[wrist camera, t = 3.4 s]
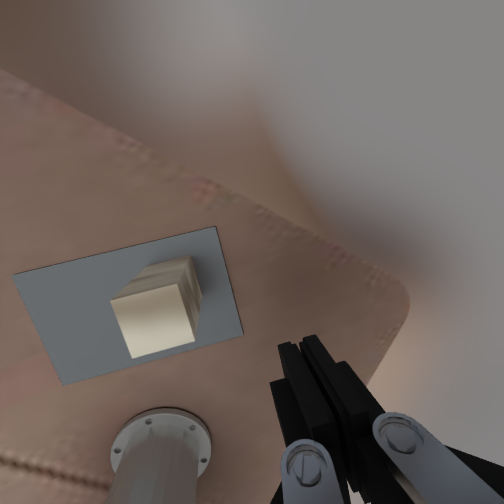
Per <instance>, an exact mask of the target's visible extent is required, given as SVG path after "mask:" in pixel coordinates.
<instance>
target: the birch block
mask: <svg viewBox="0 0 504 504" xmlns="http://www.w3.org/2000/svg"><path fill="white" fill-rule="evenodd" d="M201 300H202V292H201V289H200V285H199V282H198V279H197V275H196V272H195V268H194V265H193V261H192V258H191V255H189V256H185V257H181V258H177V259H173V260H169V261H165V262H161V263H157V264H153V265H149V266H146V267H145V268H144V269H143V270H142V271H141V272H140V273H139V274H138V275H137V276H136V277H135V278H133V279H132V280H131V281H130V282H129V283H128V284H127V285H126V286H125V287H124V288H123V289H122V290H121V291H120V292H119V293H118V294H116V295H115V296H114V297H113V298H112V299H111V300H110V302H111V305H112V308H113V310H114V313H115V315H116V318H117V321H118V323H119V326H120V328H121V331H122V334H123V336H124V339H125V341H126V344H127V347H128V349H129V352H130V354H131V357H132V358H136V357H140V356H143V355H147V354H151V353H154V352H158V351H161V350H165V349H169V348H172V347H176V346H179V345H183V344H187V343H190V342H194V341H195V339H196V332H197V326H198V319H199V313H200V307H201Z"/></svg>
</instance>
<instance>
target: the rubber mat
mask: <svg viewBox="0 0 504 504" xmlns="http://www.w3.org/2000/svg"><path fill="white" fill-rule="evenodd" d="M189 255H191V258H192V261H193V265H194V268H195V272H196V275H197V279H198V282H199V285H200V289H201V292H202V300H201V307H200V313H199V319H198V326H197V332H196V339H195V341H194V342H190V343H187V344H183V345H179V346H176V347H172V348H169V349H165V350H161V351H158V352H154V353H151V354H147V355H143V356H140V357H136V358H132V357H131V354H130V352H129V349H128V347H127V344H126V341H125V339H124V336H123V334H122V331H121V328H120V326H119V323H118V321H117V318H116V315H115V313H114V310H113V308H112V305H111V302H110V300H111V299H112V298H113V297H114V296H115V295H116V294H118V293H119V292H120V291H121V290H122V289H123V288H124V287H125V286H126V285H127V284H128V283H129V282H130V281H131V280H132V279H133V278H135V277H136V276H137V275H138V274H139V273H140V272H141V271H142V270H143V269H144V268H145V267H146V266H149V265H153V264H157V263H161V262H165V261H169V260H173V259H177V258H181V257H185V256H189ZM11 276H12V278H13V281H14V283H15V285H16V287H17V289H18V291H19V293H20V296H21V298H22V300H23V302H24V304H25V306H26V308H27V310H28V313H29V315H30V317H31V319H32V321H33V323H34V325H35V327H36V330H37V332H38V334H39V336H40V338H41V340H42V342H43V344H44V347H45V349H46V351H47V353H48V355H49V357H50V359H51V361H52V364H53V366H54V368H55V370H56V372H57V374H58V376H59V379H60V381H61V383H62V385H67V384H71V383H74V382H78V381H81V380H85V379H89V378H92V377H96V376H99V375H103V374H106V373H110V372H114V371H117V370H121V369H124V368H128V367H131V366H135V365H139V364H142V363H146V362H149V361H153V360H157V359H160V358H164V357H167V356H171V355H174V354H178V353H182V352H185V351H189V350H192V349H196V348H200V347H203V346H207V345H210V344H214V343H217V342H221V341H225V340H228V339H232V338H235V337H239V336H243V331H242V327H241V323H240V319H239V316H238V312H237V308H236V304H235V300H234V296H233V292H232V289H231V285H230V281H229V277H228V273H227V269H226V266H225V262H224V258H223V254H222V250H221V246H220V242H219V239H218V235H217V231H216V227H215V226H214V227H210V228H206V229H202V230H197V231H193V232H189V233H185V234H181V235H177V236H173V237H168V238H164V239H160V240H156V241H152V242H148V243H143V244H139V245H135V246H131V247H127V248H123V249H118V250H114V251H110V252H106V253H102V254H98V255H93V256H89V257H85V258H81V259H77V260H73V261H68V262H64V263H60V264H56V265H52V266H48V267H43V268H39V269H35V270H31V271H27V272H23V273H18V274H14V275H11Z"/></svg>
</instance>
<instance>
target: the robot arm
mask: <svg viewBox="0 0 504 504" xmlns="http://www.w3.org/2000/svg"><path fill="white" fill-rule="evenodd" d="M299 346H300V350H299V349H298V347H297V345H296V344H291V342H290V341H289V342H286V343H282V344H279V345H278V350H279V354H280V359H281V363H282V368H283V372H284V376H285V378H283V379H280V380H276V381H273V382H270V387H271V391H272V395H273V399H274V403H275V407H276V411H277V415H278V419H279V422H280V426H281V430H282V434H283V437H284V441H285V445H286V448H287V449H286V450H285V451H284V453H283V456H282V459H281V477H282V481H281V483H280V485H279V487H278V489H277V491H276V493H275V495H274V497H273V499H272V501H271V503H270V504H351V501H350V495H349V490H348V484H347V481H348V483H349V485H350V487H351V489H352V491H353V492H354V493H355V492H358V491H359V493H360V495H361V497H362V499H363V501H364V503H365V504H367V503H370V502H371V504H504V467H503V466H500V465H497V464H495V463H492V462H489V461H486V460H484V459H481V458H478V457H476V456H473V455H470V454H467V453H465V452H462V451H459V450H456V449H454V448H451V447H448V446H445V445H443V444H442V443H441V442H440V441H439V440H438V439H437V438H435V437H434V436H433V435H432V434H431V433H430V432H429V431H428V430H426V428H424V427H423V426H422V425H421V424H420V423H419V422H417V421H416V420H415V419H413V418H411V417H409V416H407V415H405V414H401V413H396V412H387V413H386V412H385V411H384V410H383V408H382V407H381V406H380V405H379V403H378V402H377V401H376V399H375V398H374V397H373V396H372V394H371V393H370V392H369V390H368V389H367V388H366V386H365V385H364V384H363V383H362V381H361V380H360V379H359V377H358V376H357V375H356V373H355V372H354V371H353V370H352V368H351V367H350V366H349V364H348V363H347V362H346V361H341V362H338V363H335V361H334V360H333V358H332V357H331V356H330V354H329V353H328V351H327V350H326V349H325V347H324V346H323V344H322V343H321V341H320V340H319V339H318V337H317V336H316V335H315V334H314V335H311V336H307V337H304V338H303V342H299ZM300 351H301V352H300ZM210 457H211V437H210V434H209V431H208V429H207V428H206V426H205V425H204V424H203V423H202V422H201V420H200V419H198V418H197V417H195V416H194V415H192V414H190V413H188V412H185V411H182V410H178V409H170V408H162V409H154V410H150V411H146V412H144V413H142V414H139V415H137V416H136V417H134V418H132V419H131V420H129V421H128V422H127V423H126V424H125V425H124V426H123V427H122V428H121V430H120V431H119V432H118V434H117V436H116V438H115V440H114V443H113V445H112V448H111V454H110V461H111V466H112V469H113V471H114V473H115V476H114V479H113V481H112V484H111V487H110V489H109V492H108V495H107V497H106V500H105V503H104V504H196V492H197V478H198V477H199V476H201V474H202V473H203V472H204V470H205V469H206V467H207V465H208V463H209V460H210Z"/></svg>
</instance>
